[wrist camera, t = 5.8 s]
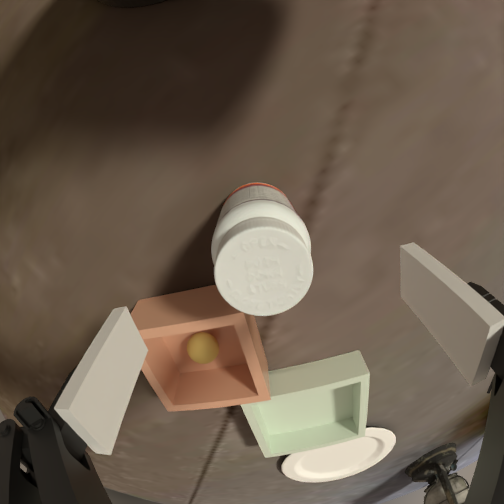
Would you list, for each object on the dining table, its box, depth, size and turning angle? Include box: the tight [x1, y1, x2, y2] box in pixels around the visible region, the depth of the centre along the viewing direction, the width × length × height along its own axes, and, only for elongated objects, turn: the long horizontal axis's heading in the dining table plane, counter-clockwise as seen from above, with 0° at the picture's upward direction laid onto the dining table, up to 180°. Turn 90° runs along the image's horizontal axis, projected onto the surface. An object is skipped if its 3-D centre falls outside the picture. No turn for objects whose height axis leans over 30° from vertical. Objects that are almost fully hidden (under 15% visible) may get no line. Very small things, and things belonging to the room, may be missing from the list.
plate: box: [281, 427, 396, 482], centre depth 41 cm, size 21×21×2 cm
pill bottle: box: [211, 183, 313, 316], centre depth 20 cm, size 6×6×11 cm
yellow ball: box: [187, 332, 219, 364], centre depth 28 cm, size 3×3×3 cm
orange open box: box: [130, 285, 271, 411], centre depth 28 cm, size 11×11×6 cm
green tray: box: [241, 350, 370, 458], centre depth 33 cm, size 14×14×4 cm
